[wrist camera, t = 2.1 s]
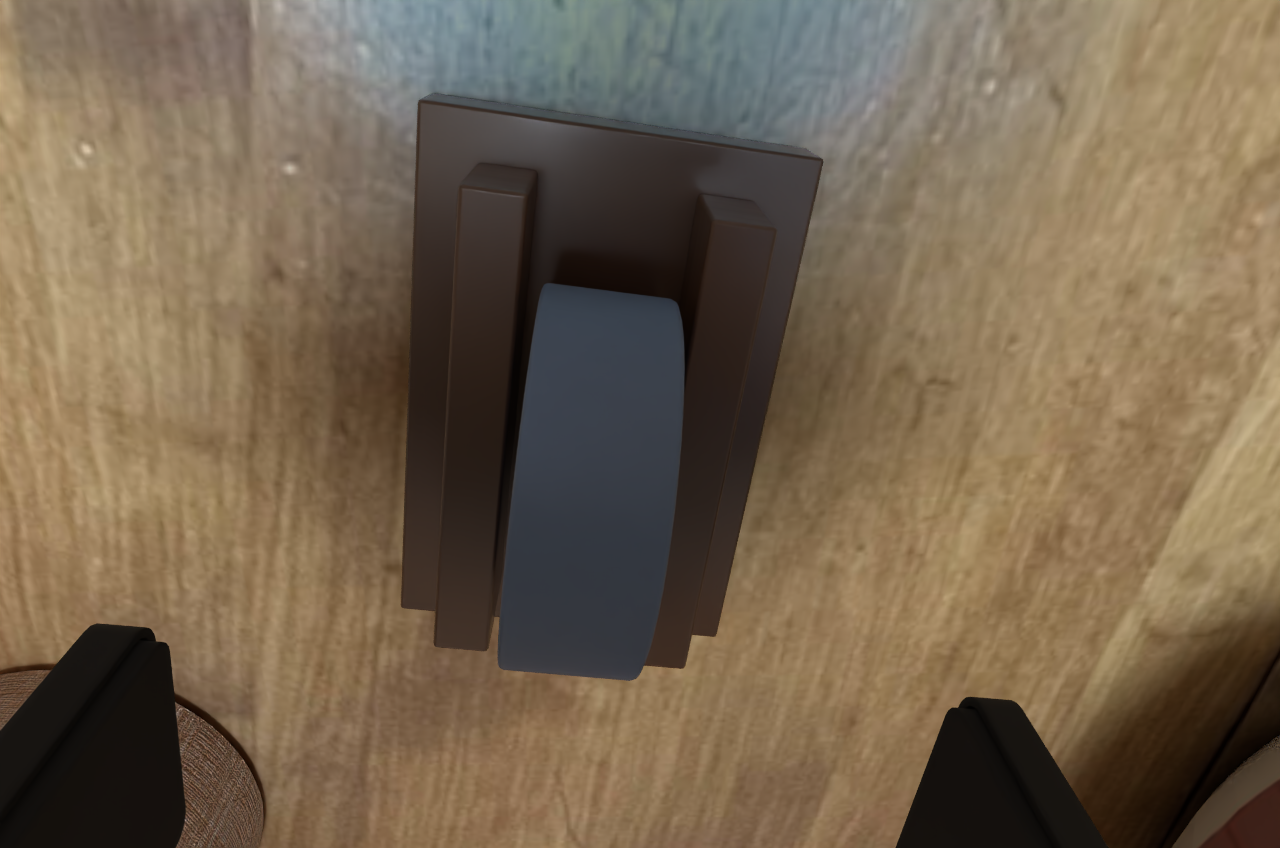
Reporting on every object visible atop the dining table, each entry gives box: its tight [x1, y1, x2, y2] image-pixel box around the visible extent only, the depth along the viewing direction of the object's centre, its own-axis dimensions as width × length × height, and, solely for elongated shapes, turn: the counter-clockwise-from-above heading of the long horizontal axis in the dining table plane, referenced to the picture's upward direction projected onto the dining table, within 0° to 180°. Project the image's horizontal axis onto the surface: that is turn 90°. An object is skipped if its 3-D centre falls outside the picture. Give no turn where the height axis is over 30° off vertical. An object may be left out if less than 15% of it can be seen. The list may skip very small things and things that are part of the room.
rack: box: [401, 93, 823, 669], centre depth 19 cm, size 12×8×4 cm, turn 172°
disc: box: [498, 283, 685, 681], centre depth 16 cm, size 7×2×7 cm, turn 172°
